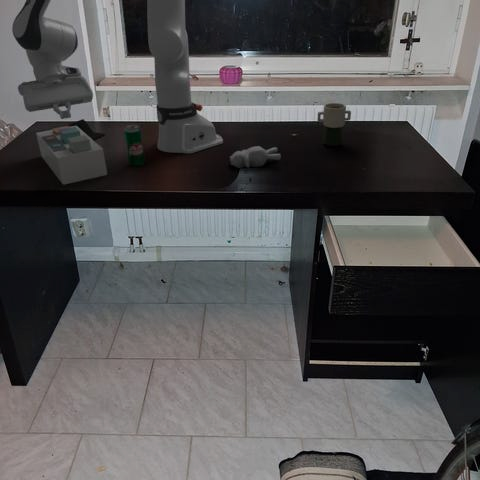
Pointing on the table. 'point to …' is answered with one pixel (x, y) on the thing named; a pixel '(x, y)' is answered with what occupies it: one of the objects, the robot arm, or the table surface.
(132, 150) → the soda can
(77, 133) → the teal key
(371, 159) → the table surface
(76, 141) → the sage green key
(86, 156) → the keypad
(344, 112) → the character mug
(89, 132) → the handheld gaming console
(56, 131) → the terracotta key
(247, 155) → the bunny figurine
